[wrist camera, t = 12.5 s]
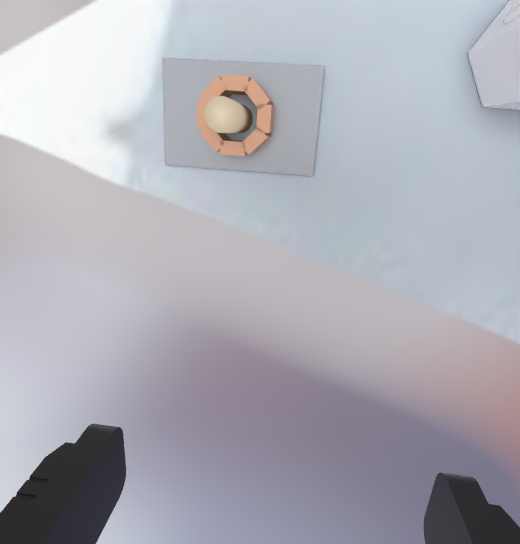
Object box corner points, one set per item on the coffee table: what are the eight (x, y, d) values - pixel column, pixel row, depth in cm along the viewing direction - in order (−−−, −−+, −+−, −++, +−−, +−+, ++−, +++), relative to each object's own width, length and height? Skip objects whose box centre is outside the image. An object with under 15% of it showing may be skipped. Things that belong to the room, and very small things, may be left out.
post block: (324, 68, 33) (330, 45, 24) (312, 174, 36) (314, 187, 28) (167, 60, 34) (120, 36, 26) (169, 164, 37) (128, 173, 29)
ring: (277, 82, 33) (273, 77, 30) (271, 155, 35) (267, 158, 32) (208, 78, 33) (197, 72, 30) (207, 150, 35) (196, 152, 32)
